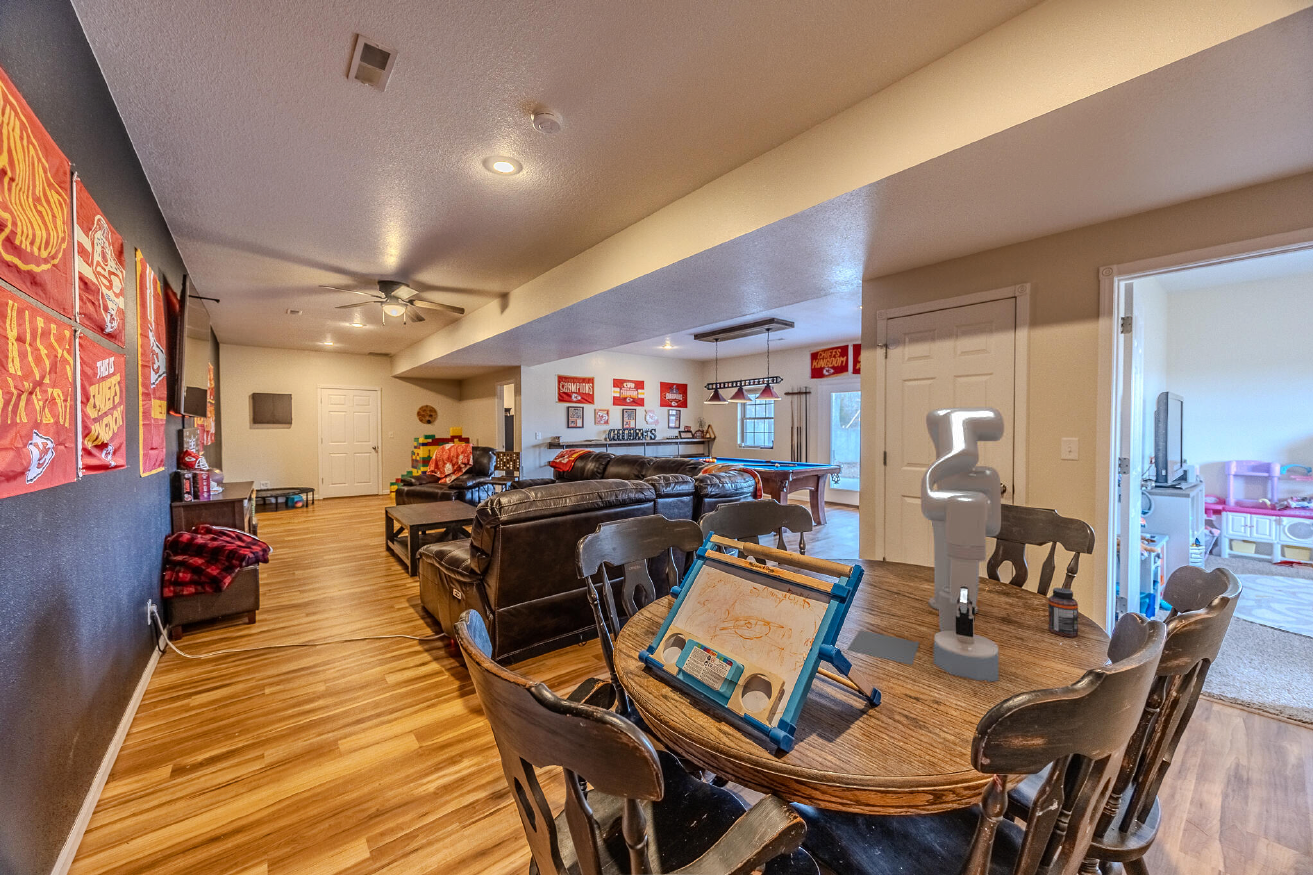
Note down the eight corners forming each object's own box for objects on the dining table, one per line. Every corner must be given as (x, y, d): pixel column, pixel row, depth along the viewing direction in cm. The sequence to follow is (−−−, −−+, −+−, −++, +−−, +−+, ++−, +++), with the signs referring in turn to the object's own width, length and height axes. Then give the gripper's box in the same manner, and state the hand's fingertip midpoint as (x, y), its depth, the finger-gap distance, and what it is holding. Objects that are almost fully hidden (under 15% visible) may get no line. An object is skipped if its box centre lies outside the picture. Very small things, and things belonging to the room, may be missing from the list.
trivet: (859, 632, 130) (859, 630, 130) (919, 644, 122) (919, 642, 122) (846, 652, 119) (846, 649, 119) (911, 667, 111) (911, 664, 111)
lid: (936, 630, 118) (936, 601, 118) (997, 642, 112) (997, 611, 112) (932, 649, 108) (931, 617, 108) (998, 663, 102) (998, 629, 102)
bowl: (937, 651, 118) (937, 631, 118) (998, 664, 112) (998, 642, 112) (932, 672, 108) (932, 649, 108) (998, 687, 102) (998, 663, 102)
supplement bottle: (1048, 626, 133) (1048, 584, 132) (1077, 632, 129) (1077, 589, 129) (1048, 633, 128) (1048, 590, 128) (1078, 640, 124) (1078, 595, 124)
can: (978, 641, 124) (978, 594, 124) (945, 639, 125) (945, 592, 125) (965, 629, 131) (965, 584, 131) (934, 627, 133) (934, 583, 132)
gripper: (948, 541, 119) (949, 612, 119) (942, 557, 105) (942, 637, 105) (986, 545, 115) (986, 619, 115) (985, 562, 100) (985, 646, 101)
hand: (965, 627), depth 110 cm, fingers open, 9 cm apart
